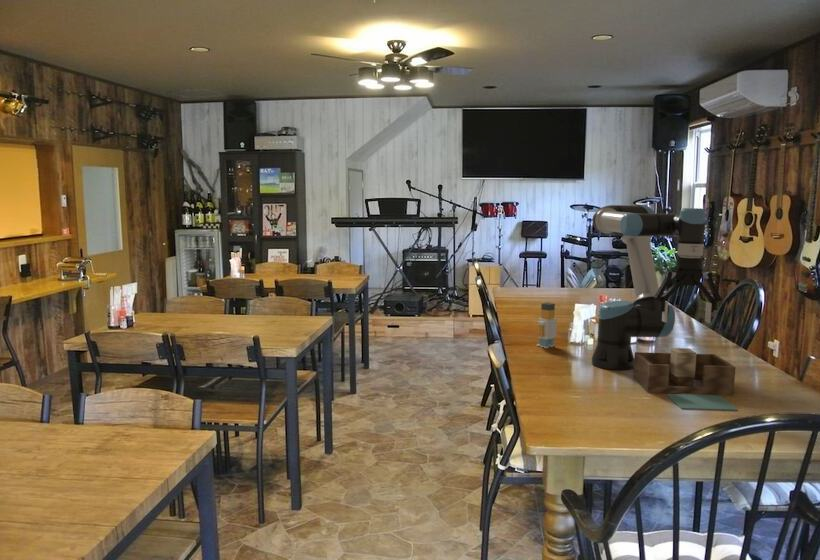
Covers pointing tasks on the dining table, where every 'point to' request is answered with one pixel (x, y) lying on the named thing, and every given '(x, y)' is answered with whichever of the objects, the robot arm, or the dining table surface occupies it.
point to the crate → (709, 369)
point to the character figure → (547, 325)
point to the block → (682, 362)
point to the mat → (701, 402)
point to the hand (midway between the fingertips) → (685, 322)
